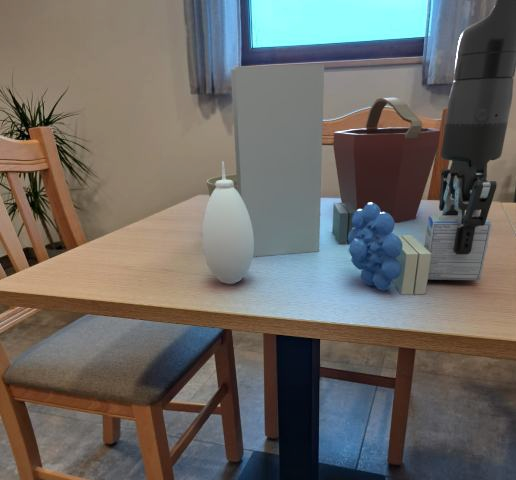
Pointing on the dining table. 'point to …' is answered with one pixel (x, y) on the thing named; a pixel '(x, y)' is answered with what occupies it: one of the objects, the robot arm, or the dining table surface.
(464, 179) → the robot arm
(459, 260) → the medicine box
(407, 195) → the bucket
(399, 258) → the cream booklets
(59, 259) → the dining table surface
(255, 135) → the tall grey box
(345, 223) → the grey booklets
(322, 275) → the dining table surface
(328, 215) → the dining table surface
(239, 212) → the white air blower bulb
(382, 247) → the grapes
